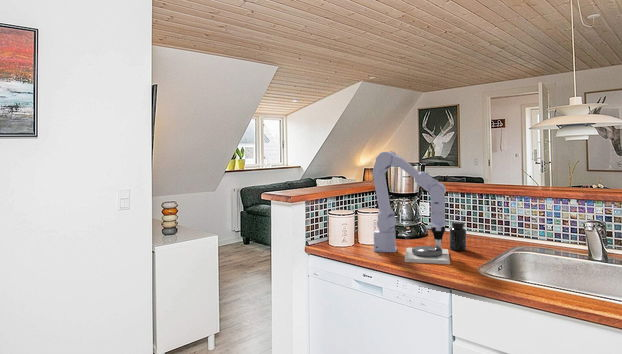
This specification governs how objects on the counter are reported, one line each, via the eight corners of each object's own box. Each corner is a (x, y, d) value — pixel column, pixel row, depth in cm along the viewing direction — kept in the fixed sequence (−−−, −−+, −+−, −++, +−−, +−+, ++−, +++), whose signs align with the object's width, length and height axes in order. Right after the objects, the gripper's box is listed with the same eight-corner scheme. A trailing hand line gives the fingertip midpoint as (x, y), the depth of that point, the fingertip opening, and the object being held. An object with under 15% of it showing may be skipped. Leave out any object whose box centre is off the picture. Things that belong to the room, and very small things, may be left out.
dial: (411, 256, 153) (411, 241, 153) (412, 248, 164) (412, 235, 164) (442, 257, 149) (442, 243, 149) (441, 249, 161) (441, 236, 160)
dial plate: (404, 261, 152) (404, 257, 151) (407, 250, 168) (407, 247, 168) (449, 264, 146) (449, 260, 146) (447, 252, 163) (447, 248, 163)
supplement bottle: (467, 251, 163) (467, 224, 163) (451, 251, 165) (450, 224, 164) (464, 247, 170) (464, 221, 169) (448, 247, 172) (448, 221, 171)
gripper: (449, 215, 149) (449, 249, 150) (447, 209, 163) (447, 240, 164) (430, 215, 151) (430, 248, 152) (430, 209, 165) (430, 240, 166)
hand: (438, 244), depth 158 cm, fingers closed
